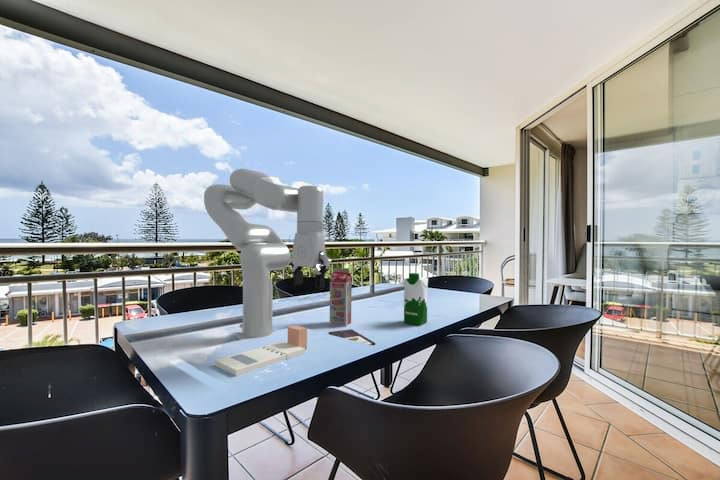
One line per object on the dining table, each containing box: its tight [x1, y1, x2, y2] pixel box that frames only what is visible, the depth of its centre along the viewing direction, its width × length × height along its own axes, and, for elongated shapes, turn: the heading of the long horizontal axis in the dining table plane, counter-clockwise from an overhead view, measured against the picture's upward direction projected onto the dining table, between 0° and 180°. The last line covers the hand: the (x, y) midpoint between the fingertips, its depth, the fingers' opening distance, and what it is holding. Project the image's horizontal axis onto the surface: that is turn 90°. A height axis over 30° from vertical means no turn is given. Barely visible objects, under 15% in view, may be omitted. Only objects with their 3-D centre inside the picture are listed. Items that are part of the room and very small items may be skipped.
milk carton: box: [403, 272, 429, 327], centre depth 134 cm, size 9×9×20 cm
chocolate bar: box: [328, 328, 376, 346], centre depth 111 cm, size 9×1×18 cm
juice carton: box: [328, 267, 353, 328], centre depth 130 cm, size 7×7×22 cm
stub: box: [264, 324, 308, 360], centre depth 93 cm, size 10×9×6 cm
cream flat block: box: [214, 346, 287, 377], centre depth 84 cm, size 10×14×2 cm
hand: (308, 286), depth 97 cm, fingers open, 9 cm apart
